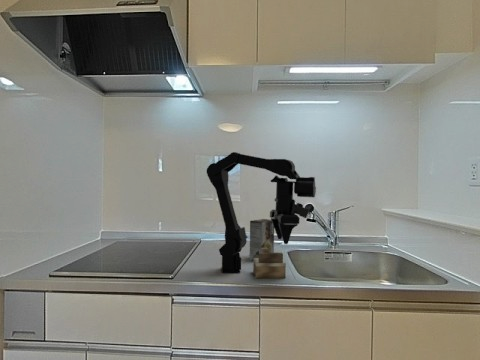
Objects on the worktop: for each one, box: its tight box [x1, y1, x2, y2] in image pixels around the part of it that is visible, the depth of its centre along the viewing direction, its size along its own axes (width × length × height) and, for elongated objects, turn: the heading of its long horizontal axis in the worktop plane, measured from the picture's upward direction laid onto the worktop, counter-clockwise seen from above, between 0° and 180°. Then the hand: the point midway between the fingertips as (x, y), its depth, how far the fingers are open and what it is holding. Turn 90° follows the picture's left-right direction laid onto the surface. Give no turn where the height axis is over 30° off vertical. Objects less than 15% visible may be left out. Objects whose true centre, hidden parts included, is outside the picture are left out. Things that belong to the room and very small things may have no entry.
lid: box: [253, 248, 287, 267], centre depth 128 cm, size 10×8×5 cm
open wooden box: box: [252, 260, 287, 279], centre depth 128 cm, size 10×8×4 cm
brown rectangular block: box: [258, 252, 284, 263], centre depth 125 cm, size 8×2×3 cm, turn 95°
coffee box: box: [249, 218, 275, 261], centre depth 153 cm, size 9×6×16 cm
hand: (282, 241), depth 126 cm, fingers open, 9 cm apart
